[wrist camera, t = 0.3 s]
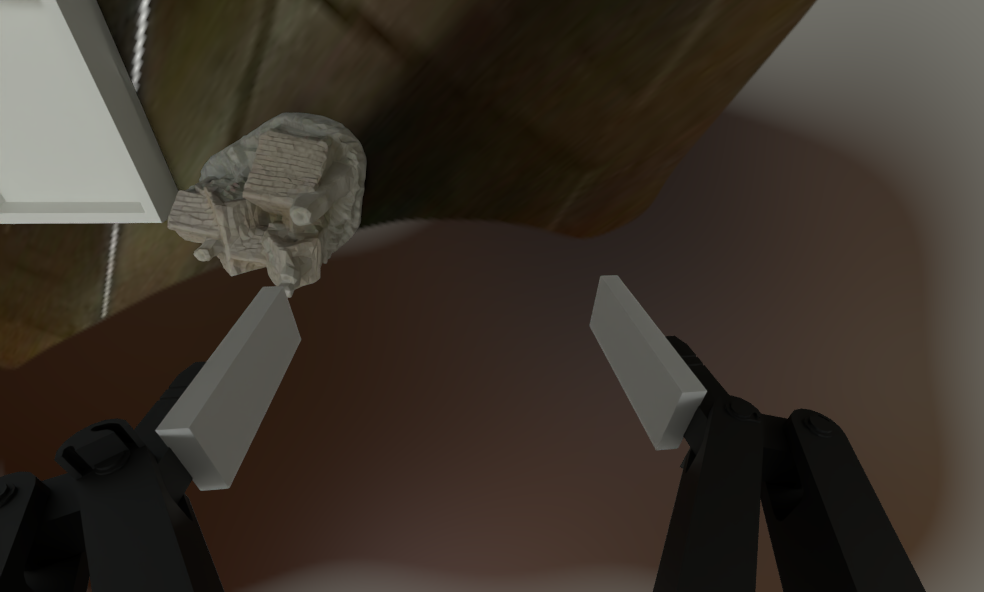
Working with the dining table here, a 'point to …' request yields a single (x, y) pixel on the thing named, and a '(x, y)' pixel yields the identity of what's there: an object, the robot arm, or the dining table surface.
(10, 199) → the tray
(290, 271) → the ceramic cottage
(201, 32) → the dining table surface
